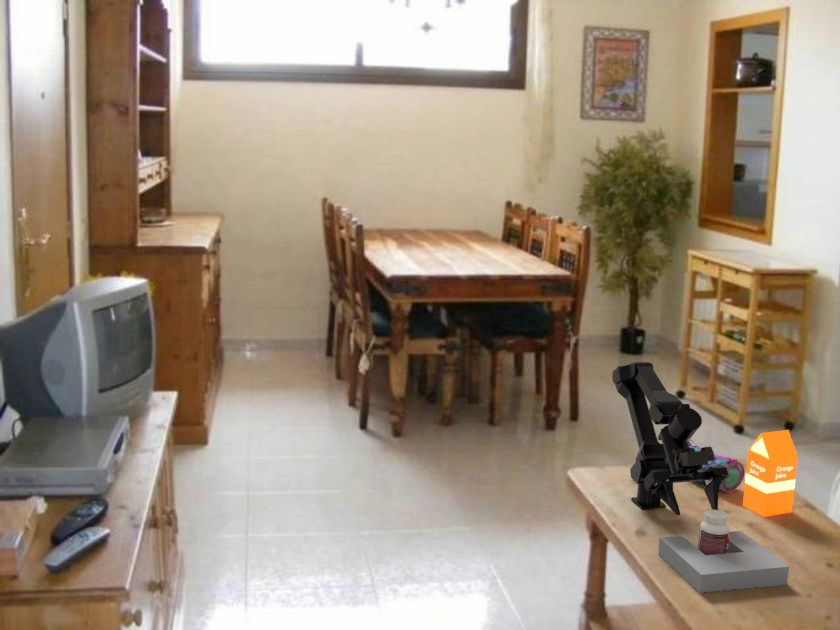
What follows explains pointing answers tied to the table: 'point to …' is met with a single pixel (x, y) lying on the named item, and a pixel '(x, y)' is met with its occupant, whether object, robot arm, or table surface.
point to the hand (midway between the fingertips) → (697, 513)
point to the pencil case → (732, 465)
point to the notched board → (724, 564)
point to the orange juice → (771, 474)
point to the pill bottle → (714, 533)
